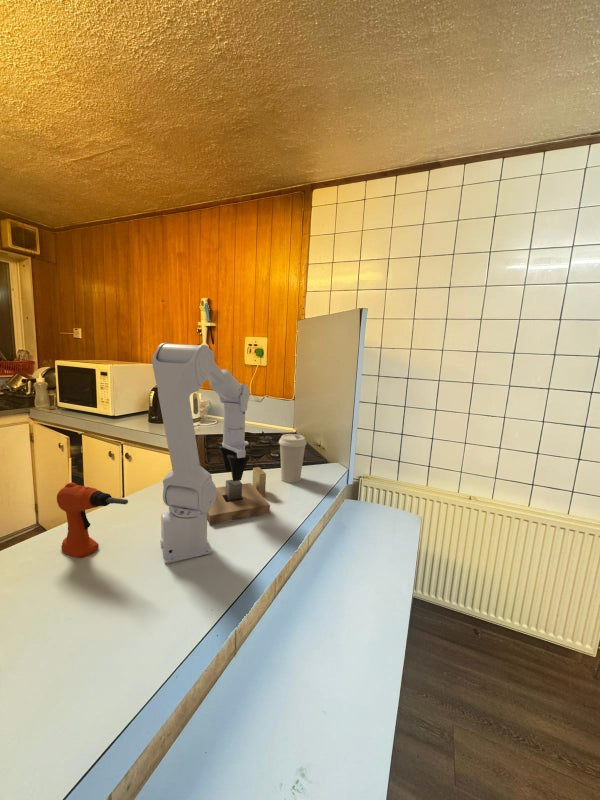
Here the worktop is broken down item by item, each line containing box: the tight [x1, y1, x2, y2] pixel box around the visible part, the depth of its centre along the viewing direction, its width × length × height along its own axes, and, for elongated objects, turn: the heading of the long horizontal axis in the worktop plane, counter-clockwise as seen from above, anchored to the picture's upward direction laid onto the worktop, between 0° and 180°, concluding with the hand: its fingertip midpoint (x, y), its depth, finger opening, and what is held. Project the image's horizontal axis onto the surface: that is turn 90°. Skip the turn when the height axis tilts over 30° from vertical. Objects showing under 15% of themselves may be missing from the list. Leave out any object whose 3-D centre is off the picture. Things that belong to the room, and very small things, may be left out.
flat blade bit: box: [251, 466, 267, 497], centre depth 102 cm, size 2×6×7 cm, turn 27°
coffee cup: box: [278, 433, 308, 484], centre depth 113 cm, size 10×10×15 cm
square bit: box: [225, 479, 243, 502], centre depth 93 cm, size 4×4×7 cm
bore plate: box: [207, 482, 271, 526], centre depth 93 cm, size 16×16×2 cm
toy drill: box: [56, 481, 129, 559], centre depth 67 cm, size 5×19×15 cm, turn 70°
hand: (233, 475), depth 92 cm, fingers open, 7 cm apart
